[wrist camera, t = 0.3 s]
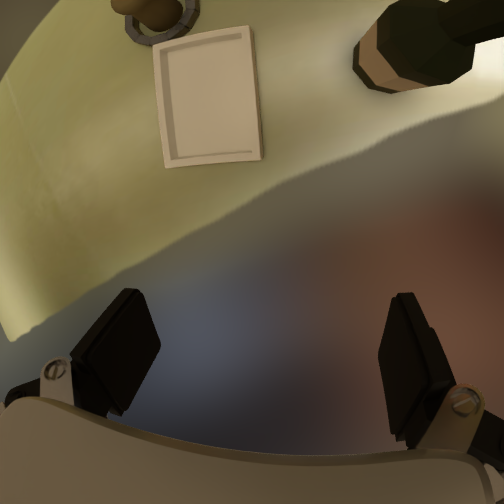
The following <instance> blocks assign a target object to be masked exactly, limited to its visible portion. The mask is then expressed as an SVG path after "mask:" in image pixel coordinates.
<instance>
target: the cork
mask: <svg viewBox="0 0 504 504" xmlns="http://www.w3.org/2000/svg"><path fill="white" fill-rule="evenodd" d="M111 6H112V8H113V10H114V11H115V12H116V13H119V14H122V15H132V16H133V17H134V18H136V19H137V20H138V21H140V22H141V23H142V24H144V25H145V26H146V27H148V28H149V29H150V30H152V31H155V32H162V31H166V30H168V29H170V28H172V27H173V26H174V25H176V24H177V23H178V21H179V20H180V19H181V16H182V14H183V7H182V4H181V3H180V2H179V1H178V0H111Z"/></svg>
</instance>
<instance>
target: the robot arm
mask: <svg viewBox="0 0 504 504" xmlns="http://www.w3.org/2000/svg"><path fill="white" fill-rule="evenodd" d="M160 347H161V342H160V339H159V337H158V334H157V331H156V329H155V326H154V324H153V321H152V318H151V315H150V312H149V309H148V306H147V304H146V301H145V298H144V295H143V294H142V293H141V292H140V291H139V290H138V289H132V288H125V289H124V290H122V291H121V292H120V294H119V295H118V296H117V297H116V298H115V299H114V301H113V302H112V303H111V304H110V305H109V306H108V307H107V309H106V310H105V311H104V312H103V313H102V315H101V316H100V317H99V318H98V319H97V321H96V322H95V323H94V324H93V325H92V327H91V328H90V329H89V330H88V331H87V333H86V334H85V335H84V336H83V338H82V339H81V340H80V341H79V343H78V344H77V345H76V346H75V348H74V349H73V350H72V351H71V353H70V356H71V357H72V361H71V362H70V361H69V360H68V359H67V358H65V357H55V358H53V359H51V360H50V361H48V362H47V363H46V364H45V365H44V367H43V368H42V370H41V378H38V379H36V380H33V381H30V382H28V383H25V384H22V385H19V386H16V387H15V388H13V389H11V390H10V391H9V392H8V394H7V396H6V398H5V403H4V402H1V403H0V504H504V420H502V419H501V418H499V417H497V416H495V415H493V414H492V413H489V412H488V411H486V410H484V408H485V400H484V397H483V395H482V393H481V392H480V391H479V390H478V389H477V388H476V387H474V386H473V385H470V384H458V385H457V384H456V381H455V379H454V376H453V373H452V371H451V368H450V365H449V363H448V361H447V358H446V355H445V353H444V351H443V349H442V346H441V344H440V341H439V339H438V337H437V334H436V332H435V330H434V329H433V328H432V327H429V325H428V322H427V321H426V318H425V316H424V314H423V312H422V310H421V307H420V305H419V303H418V301H417V299H416V297H415V295H414V293H412V292H410V293H398V294H397V296H396V297H393V298H392V300H391V304H390V308H389V312H388V317H387V321H386V325H385V329H384V333H383V336H382V340H381V344H380V347H379V351H378V360H379V366H380V371H381V376H382V381H383V387H384V393H385V399H386V405H387V411H388V419H389V426H390V432H391V434H395V437H396V442H398V441H404V440H405V441H406V446H407V447H408V449H407V450H402V451H391V452H380V453H369V454H356V455H323V456H308V455H307V456H306V455H279V454H266V453H255V452H246V451H238V450H230V449H224V448H217V447H211V446H205V445H201V444H195V443H191V442H186V441H181V440H176V439H173V438H169V437H165V436H161V435H157V434H153V433H149V432H146V431H143V430H139V429H136V428H133V427H130V426H127V425H123V424H120V423H118V422H115V421H112V420H109V419H108V417H107V413H108V411H110V413H112V414H115V415H118V416H122V414H123V412H124V411H126V410H127V409H128V408H129V406H130V404H131V403H132V400H133V399H134V397H135V395H136V393H137V391H138V389H139V387H140V385H141V384H142V382H143V380H144V378H145V376H146V374H147V372H148V370H149V369H150V367H151V365H152V363H153V361H154V360H155V358H156V356H157V354H158V352H159V350H160Z"/></svg>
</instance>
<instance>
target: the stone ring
mask: <svg viewBox="0 0 504 504" xmlns="http://www.w3.org/2000/svg"><path fill="white" fill-rule="evenodd" d="M185 3H186V10H185V12H184V14H183V15H182V17H181V19H180V21H179V23H177V24H176V25H175V26H174V27H172V28H171V29H170V30H169V31H167V32H166V33H163V34H160V35H156V36H153V37H149V36H145V35H144V34H143V33H142V32H141V30H140V29H139V21H138V20H137V19H136V18H134V17H133V16H132V15H127V16H125V30H126V33H127V34H128V35H129V36H130V38H131V39H132V40H133V41H134V42H136V43H139V44H142V45H147V46H151V47H153V45H155V44H159V43H162V42H165V41H169V40H173V39H177V38H181V37H182V36H184V35H185V34H186V33H187V32H189V31H190V30H189V29H192V27H193V25H194V23H195V21H196V19H197V18H198V16H199V13H200V7H199V0H185Z"/></svg>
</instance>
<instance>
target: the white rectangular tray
mask: <svg viewBox="0 0 504 504" xmlns="http://www.w3.org/2000/svg"><path fill="white" fill-rule="evenodd" d="M153 62H154V75H155V87H156V98H157V108H158V117H159V125H160V134H161V141H162V149H163V156H164V163H165V168H173V167H182V166H191V165H201V164H212V163H224V162H238V161H255V160H261V159H262V158H263V157H264V155H263V142H262V129H261V117H260V105H259V93H258V81H257V70H256V59H255V49H254V38H253V31H252V29H251V28H250V26H249V25H245V26H237V27H231V28H224V29H218V30H213V31H208V32H203V33H198V34H193V35H189V36H185V37H181V38H177V39H173V40H169V41H165V42H162V43H159V44H155V45H153Z"/></svg>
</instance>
